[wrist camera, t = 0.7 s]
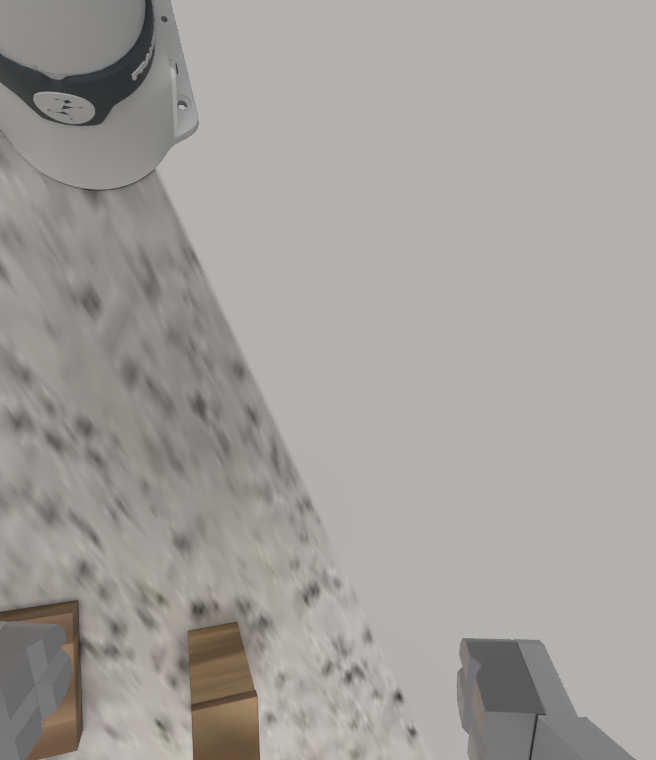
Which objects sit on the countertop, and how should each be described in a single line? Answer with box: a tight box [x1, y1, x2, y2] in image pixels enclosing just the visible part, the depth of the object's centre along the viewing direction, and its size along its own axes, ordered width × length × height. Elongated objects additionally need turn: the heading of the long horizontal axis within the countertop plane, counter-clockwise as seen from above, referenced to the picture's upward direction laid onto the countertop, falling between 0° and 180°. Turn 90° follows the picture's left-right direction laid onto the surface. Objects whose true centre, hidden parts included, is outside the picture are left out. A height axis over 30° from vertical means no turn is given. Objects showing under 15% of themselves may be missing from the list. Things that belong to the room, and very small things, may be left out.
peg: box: [188, 622, 260, 760], centre depth 40 cm, size 5×5×12 cm
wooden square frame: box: [0, 600, 83, 760], centre depth 40 cm, size 11×11×2 cm
